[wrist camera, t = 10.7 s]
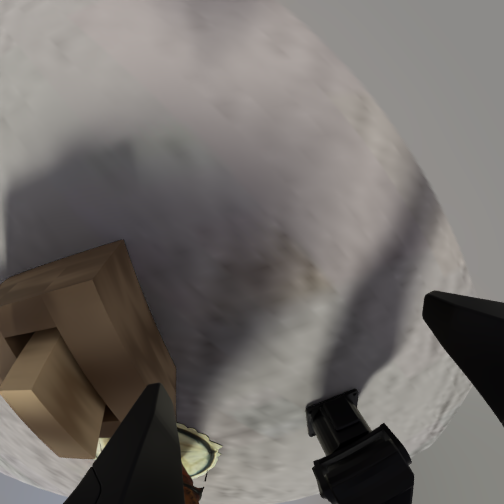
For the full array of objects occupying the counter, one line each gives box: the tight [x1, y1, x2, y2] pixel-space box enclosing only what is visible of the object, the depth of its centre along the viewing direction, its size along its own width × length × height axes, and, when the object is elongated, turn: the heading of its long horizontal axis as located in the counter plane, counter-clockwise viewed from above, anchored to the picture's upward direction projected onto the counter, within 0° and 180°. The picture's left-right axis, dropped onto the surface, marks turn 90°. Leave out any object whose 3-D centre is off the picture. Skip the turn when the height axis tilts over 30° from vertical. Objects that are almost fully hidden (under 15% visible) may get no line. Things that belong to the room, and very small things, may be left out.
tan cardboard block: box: [0, 327, 106, 459], centre depth 13 cm, size 6×4×8 cm, turn 11°
